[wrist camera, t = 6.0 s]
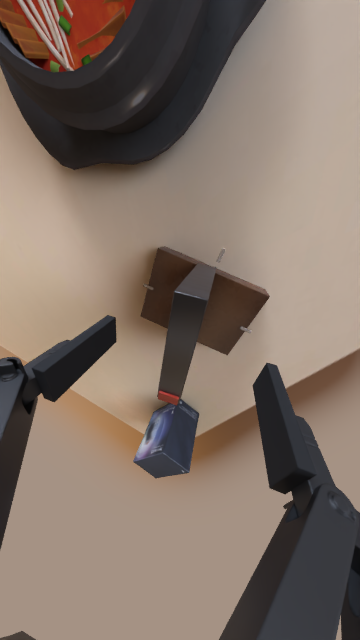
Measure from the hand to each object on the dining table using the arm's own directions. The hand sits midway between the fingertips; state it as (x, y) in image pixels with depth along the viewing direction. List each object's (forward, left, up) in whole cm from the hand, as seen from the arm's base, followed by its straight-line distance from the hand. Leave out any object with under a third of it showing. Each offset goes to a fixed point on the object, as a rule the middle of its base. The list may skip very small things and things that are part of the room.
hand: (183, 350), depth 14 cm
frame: (0, 0, -9) cm, 8 cm away
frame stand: (0, 0, -11) cm, 11 cm away
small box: (-6, +28, -11) cm, 31 cm away
